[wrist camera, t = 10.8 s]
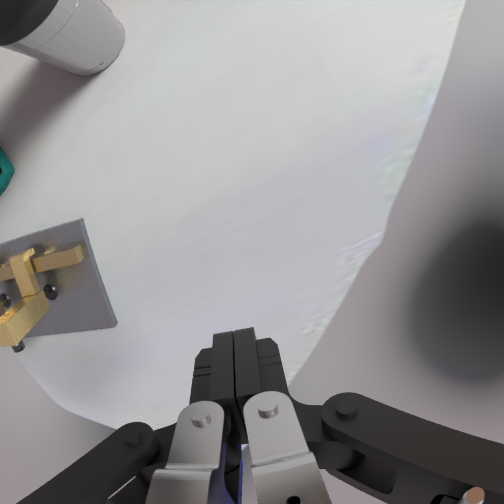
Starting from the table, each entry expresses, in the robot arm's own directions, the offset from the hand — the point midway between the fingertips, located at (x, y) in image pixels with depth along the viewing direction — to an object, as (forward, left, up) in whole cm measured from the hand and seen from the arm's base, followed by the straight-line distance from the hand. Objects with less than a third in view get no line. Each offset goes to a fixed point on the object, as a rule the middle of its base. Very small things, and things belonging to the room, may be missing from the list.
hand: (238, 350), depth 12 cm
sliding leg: (+4, -30, -27) cm, 41 cm away
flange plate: (+5, -31, -29) cm, 43 cm away
